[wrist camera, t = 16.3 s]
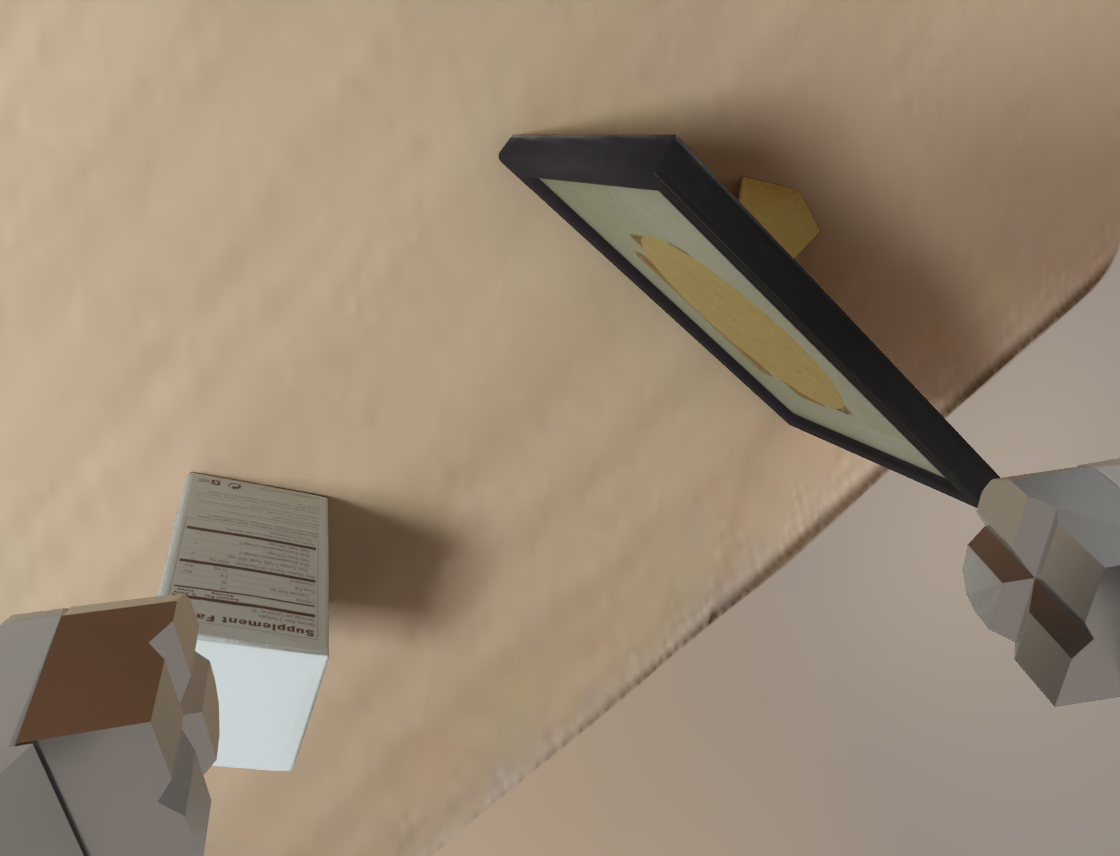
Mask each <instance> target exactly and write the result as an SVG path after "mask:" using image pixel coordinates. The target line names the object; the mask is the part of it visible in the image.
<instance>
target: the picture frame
mask: <svg viewBox="0 0 1120 856" xmlns="http://www.w3.org/2000/svg"><path fill="white" fill-rule="evenodd" d="M499 159H500V161H501V162H502V163H503V164H504V165H505V166H506V167H507V168H508V169H510V170H511V171H512V172H513V173H514V174H515V175H516V176H517V177H518V178H519V179H521V180H522V181H523V182H524V183H525V184H526V185H527V186H528V187H529V188H530V189H532V190H533V191H534V192H535V193H536V194H537V195H538V196H539V197H540V198H541V199H542V200H544V201H545V202H546V203H547V204H548V205H549V206H550V207H551V208H552V209H553V210H555V211H556V212H557V213H558V214H559V215H560V216H561V217H562V218H563V219H564V220H566V221H567V222H568V223H569V224H570V225H571V226H572V227H573V228H574V229H575V230H576V231H578V232H579V233H580V234H581V235H582V236H583V237H584V238H585V239H586V240H587V241H589V242H590V243H591V244H592V245H593V246H594V247H595V248H596V249H597V250H598V251H600V252H601V253H602V254H603V255H604V256H605V257H606V258H607V259H608V260H609V261H610V262H612V263H613V264H614V265H615V266H616V267H617V268H618V269H619V270H620V271H621V272H623V273H624V274H625V275H626V276H627V277H628V278H629V279H630V280H631V281H632V282H634V283H635V284H636V285H637V286H638V287H639V288H640V289H641V290H642V291H643V292H644V293H646V294H647V295H648V296H649V297H650V298H651V299H652V300H653V301H654V302H655V303H657V304H658V305H659V306H660V307H661V308H662V309H663V310H664V311H665V312H666V313H668V314H669V315H670V316H671V317H672V318H673V319H674V320H675V321H676V322H677V323H678V324H680V325H681V326H682V327H683V328H684V329H685V330H686V331H687V332H688V333H689V334H691V335H692V336H693V337H694V338H695V339H696V340H697V341H698V342H699V343H700V344H702V345H703V346H704V347H705V348H706V349H707V350H708V351H709V352H710V353H711V354H712V355H714V356H715V357H716V358H717V359H718V360H719V361H720V362H721V363H722V364H723V365H725V366H726V367H727V368H728V369H729V370H730V371H731V372H732V373H733V374H734V375H736V376H737V377H738V378H739V379H740V380H741V381H742V382H743V383H744V384H745V385H746V386H748V387H749V388H750V389H751V390H752V391H753V392H754V393H755V394H756V395H757V396H759V397H760V398H761V399H762V400H763V401H764V402H765V403H766V404H767V405H768V406H770V407H771V408H772V409H773V410H774V411H775V412H776V413H777V414H778V415H779V416H781V417H782V418H783V419H784V420H785V421H786V422H787V423H788V424H789V425H791V426H794V427H796V428H798V429H800V430H803V431H805V432H807V433H809V434H812V435H814V436H816V437H818V438H821V439H823V440H825V441H827V442H830V443H832V444H834V445H836V446H839V447H841V448H843V449H845V450H848V451H850V452H852V453H854V454H857V455H859V456H861V457H863V458H866V459H868V460H870V461H872V462H875V463H877V464H879V465H881V466H884V467H886V468H888V469H890V470H893V471H895V472H897V473H900V474H902V475H904V476H906V477H908V478H911V479H913V480H915V481H917V482H920V483H922V484H924V485H926V486H929V487H931V488H933V489H936V490H938V491H940V492H942V493H945V494H947V495H949V496H952V497H954V498H956V499H958V500H960V501H963V502H965V503H967V504H969V505H972V506H974V507H976V508H978V504H979V501H980V497H981V493H982V491H983V490H984V489H985V487H986V486H987V485H988V483H989V482H990V481H991V480H992V479H997V478H1000V477H999V476H998V475H997V474H996V473H995V472H994V470H993V469H992V468H991V467H990V466H989V465H988V464H987V463H986V462H985V461H984V460H983V459H982V458H981V457H980V456H979V455H978V453H976V451H975V450H974V449H973V448H972V447H971V446H970V445H969V444H968V443H967V442H966V441H965V440H964V439H963V438H962V437H961V435H959V433H958V432H957V431H956V430H955V429H954V428H953V427H952V426H951V425H950V424H949V423H948V422H947V421H946V420H945V419H944V417H943V416H942V415H941V414H940V413H939V412H938V411H937V410H936V409H935V408H934V407H933V406H932V405H931V404H930V403H929V402H928V401H927V399H926V398H925V397H924V396H923V395H922V394H921V393H920V392H919V391H918V390H917V389H916V388H915V387H914V386H913V385H912V384H911V383H910V381H909V380H908V379H907V378H906V377H905V376H904V375H903V374H902V373H901V372H900V371H899V370H898V369H897V368H896V367H895V366H894V365H893V363H892V362H891V361H890V360H889V359H888V358H887V357H886V356H885V355H884V354H883V353H882V352H881V351H880V350H879V349H878V348H877V347H876V345H875V344H874V343H873V342H872V341H871V340H870V339H869V338H868V337H867V336H866V335H865V334H864V333H863V332H862V331H861V330H860V329H859V327H858V326H857V325H856V324H855V323H854V322H853V321H852V320H851V319H850V318H849V317H848V316H847V315H846V314H845V313H844V312H843V311H842V309H841V308H840V307H839V306H838V305H837V304H836V303H835V302H834V301H833V300H832V299H831V298H830V297H829V296H828V295H827V294H826V293H825V291H824V290H823V289H822V288H821V287H820V286H819V285H818V284H817V283H816V282H815V281H814V280H813V279H812V278H811V277H810V276H809V275H808V273H807V272H806V271H805V270H804V269H803V268H802V267H801V266H800V265H799V264H798V263H797V262H796V261H795V260H794V259H795V258H796V257H797V255H798V254H799V253H800V252H801V251H802V250H803V249H804V248H805V247H806V246H807V245H808V244H809V243H810V242H811V241H812V240H813V239H814V238H815V237H816V236H817V235H818V233H819V232H820V230H819V228H818V226H817V224H816V222H815V220H814V218H813V216H812V214H811V212H810V210H809V208H808V206H807V204H806V202H805V200H804V198H803V196H802V194H801V192H800V190H796V189H792V188H788V187H785V186H781V185H777V184H772V183H768V182H763V181H759V180H755V179H750V178H746V177H743V178H742V180H741V185H740V192H739V199H737V198H736V197H735V196H734V195H733V194H732V193H731V192H730V191H729V190H728V189H727V188H726V187H725V186H724V185H723V183H722V182H721V181H720V180H719V179H718V178H717V177H716V176H715V175H714V174H713V173H712V172H711V171H710V170H709V169H708V168H707V167H706V165H705V164H704V163H703V162H702V161H701V160H700V159H699V158H698V157H697V156H696V155H695V154H694V153H693V152H692V151H691V150H690V149H689V147H688V146H687V145H686V144H685V143H684V142H683V141H682V140H681V139H680V138H679V137H678V136H677V135H513V136H512V137H511V138H510V139H509V141H508V142H507V143H506V145H505V146H504V147H503V149H502V150H501V151H500V153H499Z"/></svg>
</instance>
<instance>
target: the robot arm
mask: <svg viewBox="0 0 1120 856" xmlns="http://www.w3.org/2000/svg"><path fill="white" fill-rule="evenodd" d="M977 513H978V515H979V516H980V518H981V520H982V521H983V523H984V525H985V527H984V528H983V529H982V530H981V531H980V532H979V533H978V534H977V535H976V536H975V537H974V538H973V540H972V541H971V542H970V543H969V544H968V546H967V551H966V555H965V561H964V565H963V575H964V581H965V587H966V592H967V596H968V598H969V600H970V602H971V604H972V606H973V608H974V610H975V612H976V614H977V615H978V616H979V617H980V618H981V620H982V621H983V622H984V623H985V625H986V626H987V627H988V628H989V629H990V630H992V631H994V632H996V633H998V634H1000V635H1002V636H1004V637H1006V638H1008V639H1010V640H1012V641H1015V661H1016V662H1017V663H1018V664H1019V665H1020V666H1021V668H1022V669H1023V670H1024V671H1025V672H1026V674H1028V676H1029V677H1030V678H1031V679H1032V681H1033V682H1034V683H1035V684H1036V685H1037V687H1038V688H1039V689H1040V690H1041V691H1042V692H1043V694H1044V695H1045V696H1046V697H1047V698H1048V699H1049V701H1050V702H1051V703H1052V704H1053V705H1054V706H1055V707H1057V706H1063V705H1070V704H1076V703H1082V702H1089V701H1095V700H1102V699H1108V698H1115V697H1120V458H1119V459H1113V460H1107V461H1101V462H1095V463H1089V464H1083V465H1079V466H1077V467H1073V468H1065V469H1058V470H1052V471H1045V472H1038V473H1032V474H1024V475H1018V476H1011V477H1004V478H997V479H992V480H991V481H990V482H989V483H988V485H987V486H986V487H985V489H984V490H983V491H982V493H981V497H980V501H979V504H978V508H977ZM198 631H199V623H198V620H197V617H196V614H195V611H194V608H193V605H192V602H191V599H190V598H188V597H187V596H186V595H184V594H174V595H166V596H158V597H149V598H141V599H133V600H124V601H116V602H108V603H99V604H91V605H83V606H75V607H71V608H70V609H64V608H63V609H55V610H48V611H40V612H32V613H24V614H17V615H12V616H10V617H9V618H8V619H7V620H5V621H4V622H3V623H1V625H0V856H203V855H204V847H205V841H206V834H207V827H208V820H209V813H210V805H211V798H210V795H209V792H208V789H207V786H206V783H205V779H204V776H203V775H204V774H205V773H206V771H207V770H208V769H209V768H210V767H211V766H212V765H213V763H214V762H215V761H216V760H217V752H218V743H219V735H220V731H219V701H218V695H217V689H216V682H215V678H214V674H213V671H212V667H211V664H210V661H209V660H208V659H206V658H205V657H203V656H202V655H200V654H199V653H197V652H196V651H195V648H196V643H197V637H198Z"/></svg>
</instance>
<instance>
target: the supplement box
mask: <svg viewBox="0 0 1120 856" xmlns="http://www.w3.org/2000/svg"><path fill="white" fill-rule="evenodd" d="M174 594H184V595H186V596H187V597H188V598H190V599H191V602H192V605H193V608H194V611H195V614H196V617H197V620H198V623H199V631H198V637H197V643H196V648H195V651H196V652H197V653H199V654H200V655H202V656H203V657H205V658H206V659H208V660H209V661H210V664H211V667H212V671H213V674H214V678H215V682H216V689H217V695H218V701H219V731H220V735H219V743H218V752H217V760H216V761H215V762H214V763H213V765H212V766H222V767H234V768H248V769H260V770H273V771H290V770H292V768H293V766H294V763H295V761H296V758H297V755H298V752H299V749H300V746H301V743H302V740H303V737H304V734H305V731H306V728H307V725H308V722H309V719H310V715H311V712H312V709H313V706H314V703H315V700H316V697H317V693H318V690H319V687H320V684H321V681H322V678H323V675H324V671H325V668H326V664H327V661H328V658H329V615H328V611H329V546H328V499H327V498H326V497H321V496H318V495H312V494H308V493H302V492H297V491H291V490H287V489H281V488H275V487H270V486H265V485H259V484H254V483H248V482H243V481H238V480H232V479H226V478H221V477H215V476H209V475H204V474H197V473H189V474H188V477H187V480H186V483H185V487H184V491H183V494H182V498H181V501H180V505H179V509H178V513H177V517H176V521H175V524H174V529H173V533H172V537H171V542H170V546H169V551H168V555H167V559H166V564H165V568H164V572H163V576H162V580H161V585H160V589H159V593H158V596H166V595H174Z"/></svg>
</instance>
